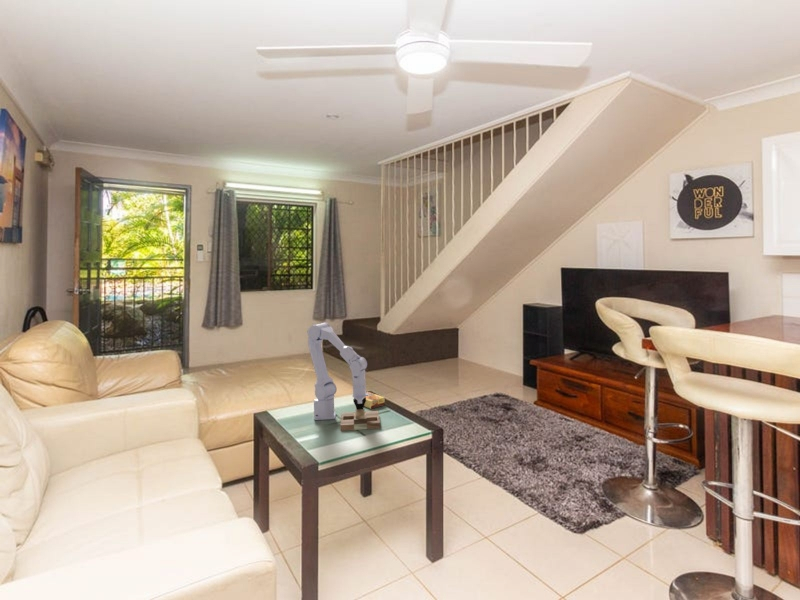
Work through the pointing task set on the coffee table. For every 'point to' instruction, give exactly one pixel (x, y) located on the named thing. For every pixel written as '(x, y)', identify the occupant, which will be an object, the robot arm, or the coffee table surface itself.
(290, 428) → the coffee table surface
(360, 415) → the block
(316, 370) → the robot arm
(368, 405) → the candy box
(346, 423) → the board
